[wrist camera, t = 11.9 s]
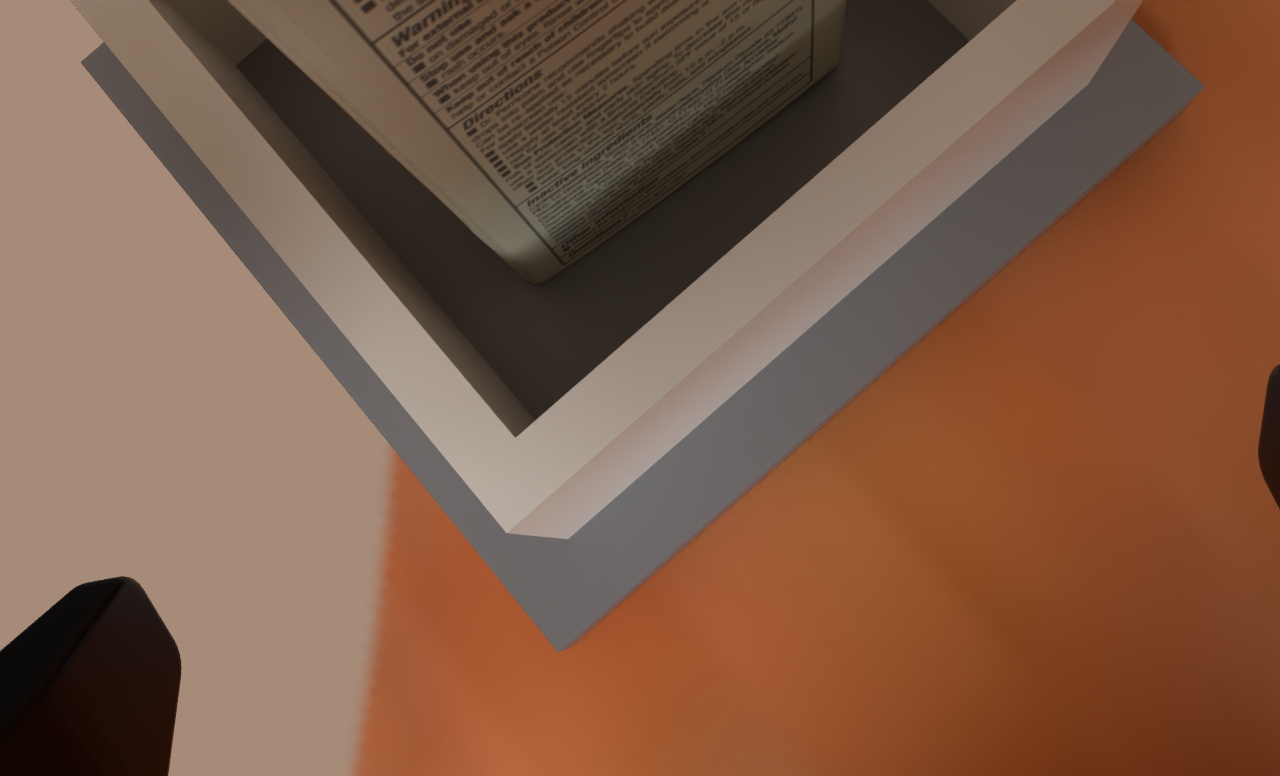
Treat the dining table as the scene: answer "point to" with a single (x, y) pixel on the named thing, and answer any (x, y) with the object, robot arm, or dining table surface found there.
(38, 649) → the robot arm
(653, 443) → the holder
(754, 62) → the skincare box
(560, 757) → the dining table surface
